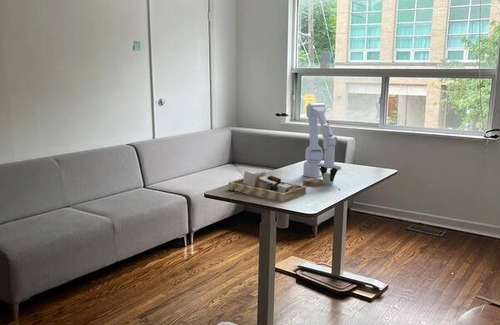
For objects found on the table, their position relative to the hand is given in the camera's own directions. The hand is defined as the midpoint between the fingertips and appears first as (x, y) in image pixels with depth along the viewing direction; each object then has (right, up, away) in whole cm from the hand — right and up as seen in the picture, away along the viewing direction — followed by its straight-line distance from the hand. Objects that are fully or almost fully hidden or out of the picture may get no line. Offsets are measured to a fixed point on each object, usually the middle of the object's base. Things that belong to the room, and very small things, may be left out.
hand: (328, 180), depth 272 cm
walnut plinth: (-9, -3, -3) cm, 10 cm away
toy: (-34, -6, -19) cm, 39 cm away
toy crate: (-36, -5, -19) cm, 41 cm away
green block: (0, -2, 0) cm, 2 cm away
